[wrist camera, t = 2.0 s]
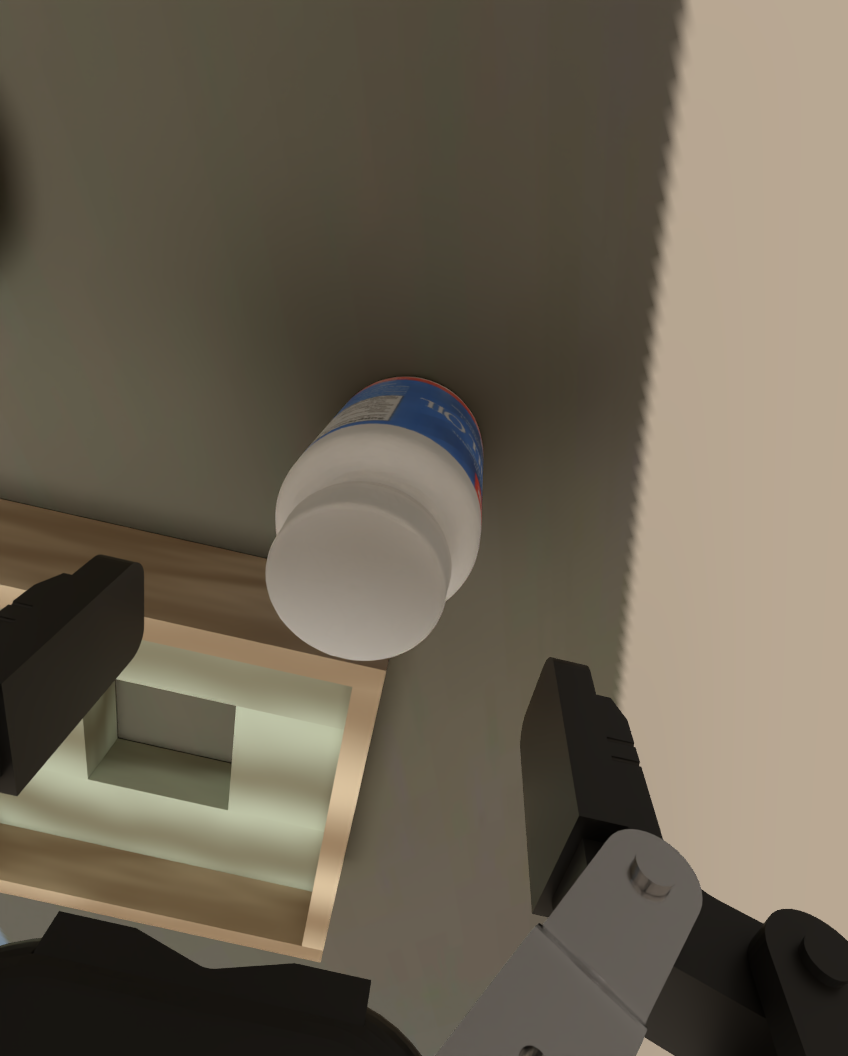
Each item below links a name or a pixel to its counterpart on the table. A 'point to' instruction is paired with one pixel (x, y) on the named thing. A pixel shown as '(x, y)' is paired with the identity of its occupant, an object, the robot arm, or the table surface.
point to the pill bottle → (379, 521)
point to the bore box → (187, 780)
